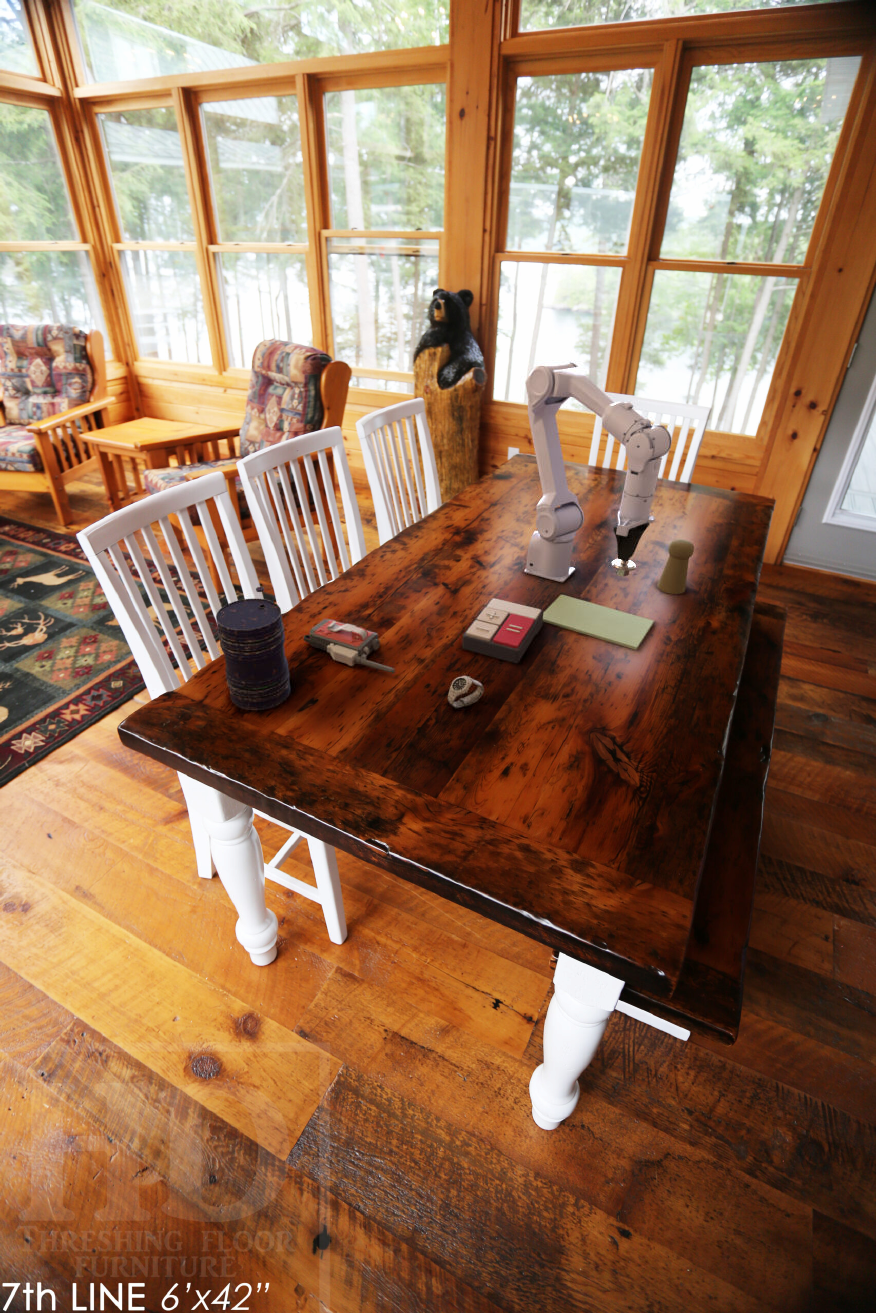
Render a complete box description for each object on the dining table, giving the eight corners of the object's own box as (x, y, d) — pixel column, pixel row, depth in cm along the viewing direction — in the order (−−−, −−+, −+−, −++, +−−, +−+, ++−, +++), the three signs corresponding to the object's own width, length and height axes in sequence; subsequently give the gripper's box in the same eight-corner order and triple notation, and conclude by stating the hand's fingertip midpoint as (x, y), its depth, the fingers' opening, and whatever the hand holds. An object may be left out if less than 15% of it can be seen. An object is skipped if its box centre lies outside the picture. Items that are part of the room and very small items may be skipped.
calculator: (462, 632, 117) (491, 594, 128) (461, 651, 120) (490, 612, 131) (519, 647, 114) (544, 607, 125) (517, 667, 116) (542, 625, 127)
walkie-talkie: (296, 650, 117) (391, 681, 110) (293, 629, 115) (390, 659, 108) (324, 628, 124) (415, 656, 117) (322, 608, 122) (415, 635, 114)
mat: (538, 620, 129) (538, 617, 129) (560, 596, 138) (561, 594, 138) (636, 650, 121) (636, 647, 121) (653, 623, 130) (654, 620, 129)
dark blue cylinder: (260, 718, 101) (244, 618, 91) (216, 696, 105) (197, 599, 95) (303, 687, 108) (293, 592, 98) (260, 668, 112) (247, 575, 102)
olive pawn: (686, 595, 140) (699, 548, 134) (658, 592, 141) (669, 545, 135) (683, 583, 145) (695, 537, 139) (656, 580, 146) (667, 534, 140)
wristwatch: (444, 702, 106) (445, 677, 103) (476, 692, 108) (477, 668, 105) (454, 714, 103) (456, 689, 100) (487, 703, 106) (489, 679, 103)
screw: (629, 581, 130) (606, 574, 132) (636, 572, 133) (614, 566, 136) (643, 519, 123) (618, 514, 125) (650, 512, 126) (626, 507, 128)
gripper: (649, 507, 116) (634, 575, 124) (669, 486, 127) (654, 550, 134) (611, 500, 119) (598, 566, 127) (633, 479, 130) (621, 542, 137)
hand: (625, 557), depth 131 cm, fingers closed on screw, 2 cm apart
